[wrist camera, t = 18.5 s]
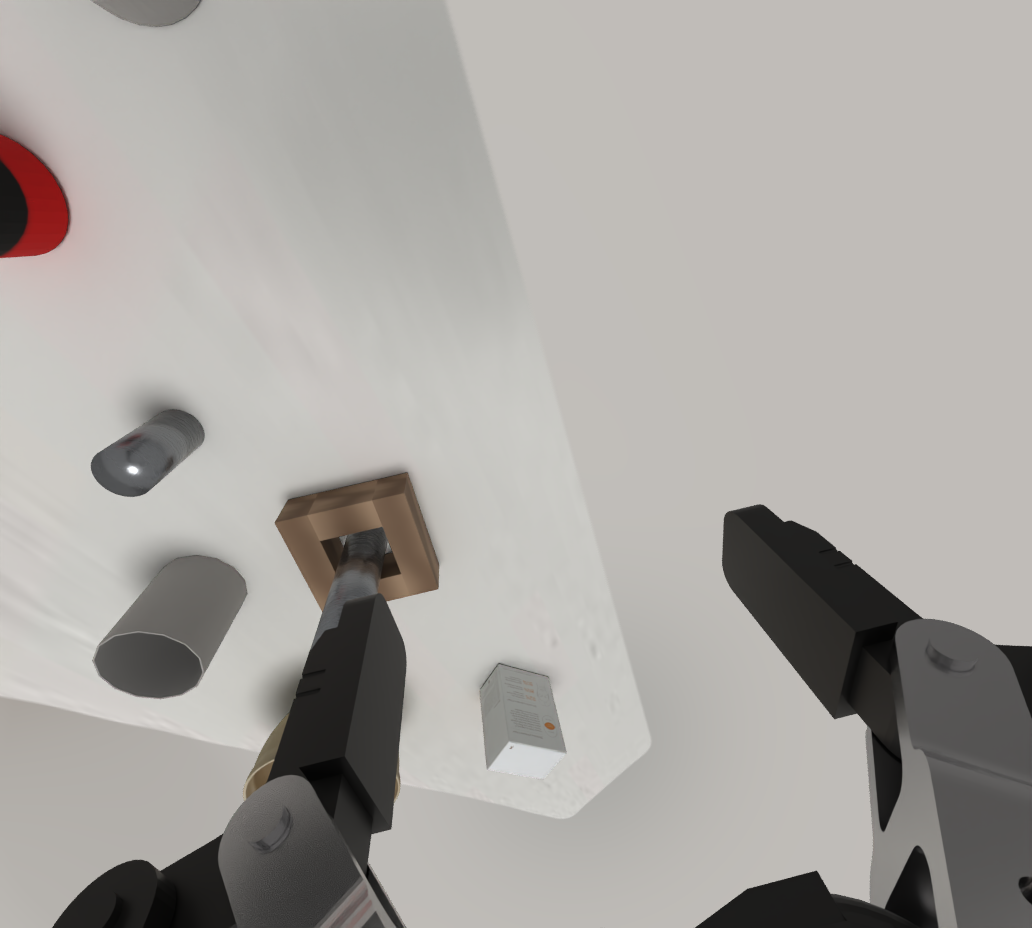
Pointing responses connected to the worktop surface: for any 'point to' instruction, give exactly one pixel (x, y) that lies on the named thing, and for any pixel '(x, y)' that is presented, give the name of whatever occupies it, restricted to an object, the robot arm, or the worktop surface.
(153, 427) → the short steel pin
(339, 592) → the long steel pin
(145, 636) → the cup
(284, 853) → the robot arm
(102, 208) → the worktop surface
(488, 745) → the small box
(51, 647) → the worktop surface
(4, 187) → the soda can
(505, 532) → the worktop surface
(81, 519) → the worktop surface
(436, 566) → the walnut bored block
